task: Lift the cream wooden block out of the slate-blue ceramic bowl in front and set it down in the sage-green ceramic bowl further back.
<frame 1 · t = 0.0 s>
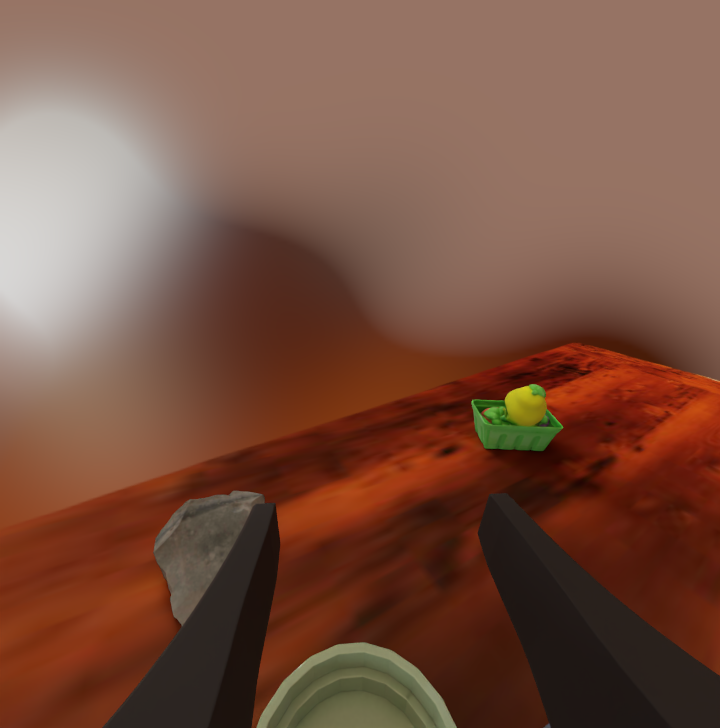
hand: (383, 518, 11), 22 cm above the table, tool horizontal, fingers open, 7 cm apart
fruit basket: (509, 443, 52), on the table
stone: (216, 567, 32), on the table
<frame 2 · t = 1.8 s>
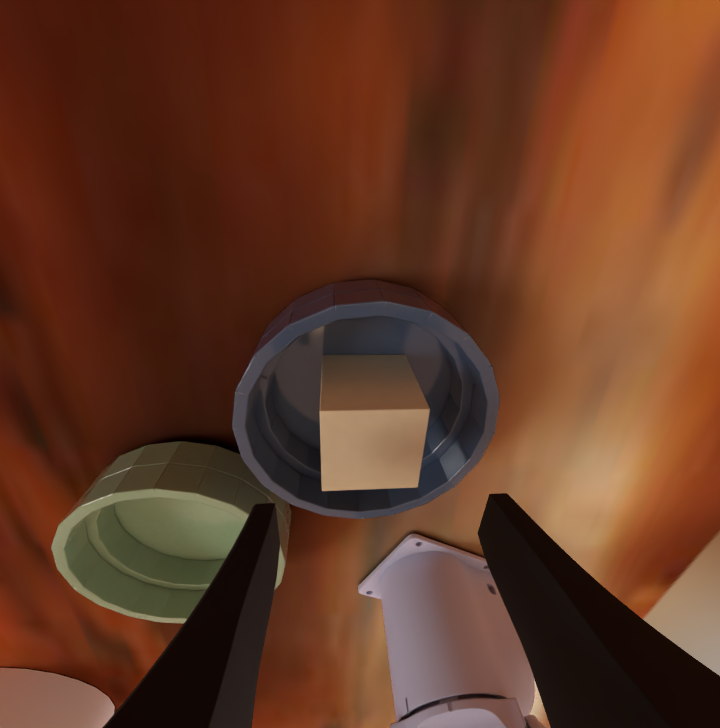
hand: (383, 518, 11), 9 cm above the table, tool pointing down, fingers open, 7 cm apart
slate bowl: (362, 385, 19), on the table
sage bowl: (199, 507, 22), on the table
block: (362, 390, 18), resting on slate bowl
cylinder: (21, 705, 34), on the table
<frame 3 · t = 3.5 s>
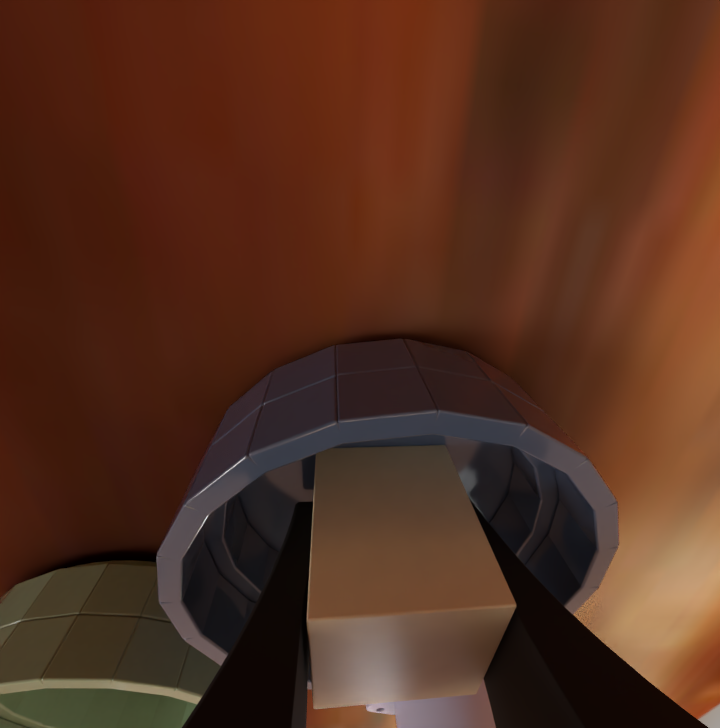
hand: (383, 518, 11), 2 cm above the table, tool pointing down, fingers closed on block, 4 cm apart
slate bowl: (377, 481, 13), on the table
sage bowl: (148, 629, 16), on the table
block: (378, 492, 12), point 1 cm above the table, touching gripper, slate bowl
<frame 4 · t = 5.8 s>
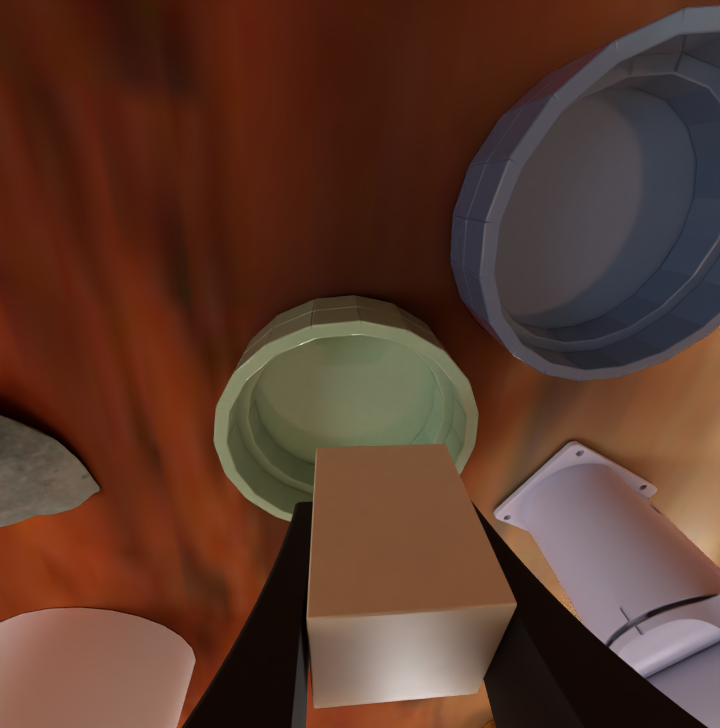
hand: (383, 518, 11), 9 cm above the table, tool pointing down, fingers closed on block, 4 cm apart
slate bowl: (575, 225, 16), on the table
decorative tree: (498, 722, 47), on the table
sage bowl: (346, 397, 19), on the table
stone: (3, 446, 19), on the table
block: (378, 491, 12), point 8 cm above the table, touching gripper
cylinder: (96, 657, 30), on the table
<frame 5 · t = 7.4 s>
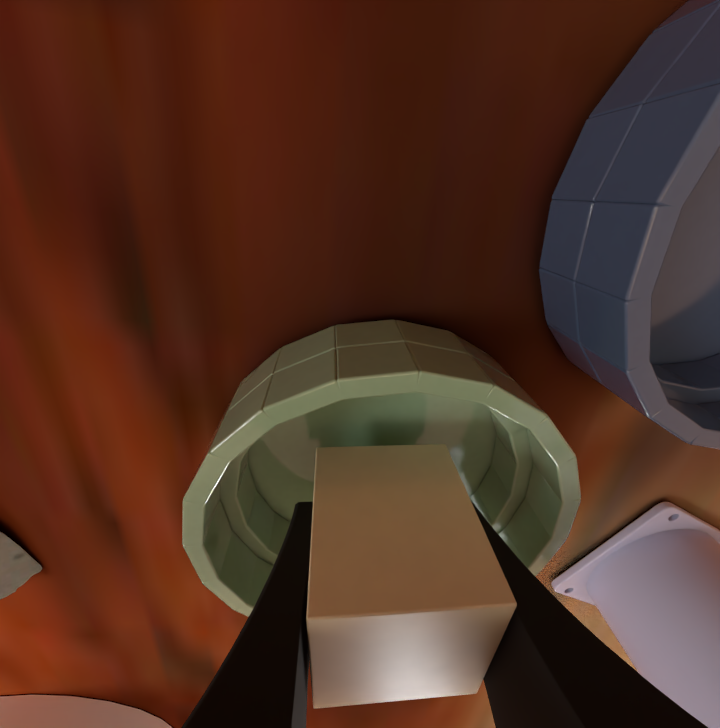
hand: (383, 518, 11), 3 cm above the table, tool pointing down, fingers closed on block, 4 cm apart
sage bowl: (373, 453, 14), on the table
block: (378, 491, 12), point 2 cm above the table, touching gripper
when the fingers open (2 cm above the table, at t = 8.3 s): block stays where it is, resting on sage bowl.
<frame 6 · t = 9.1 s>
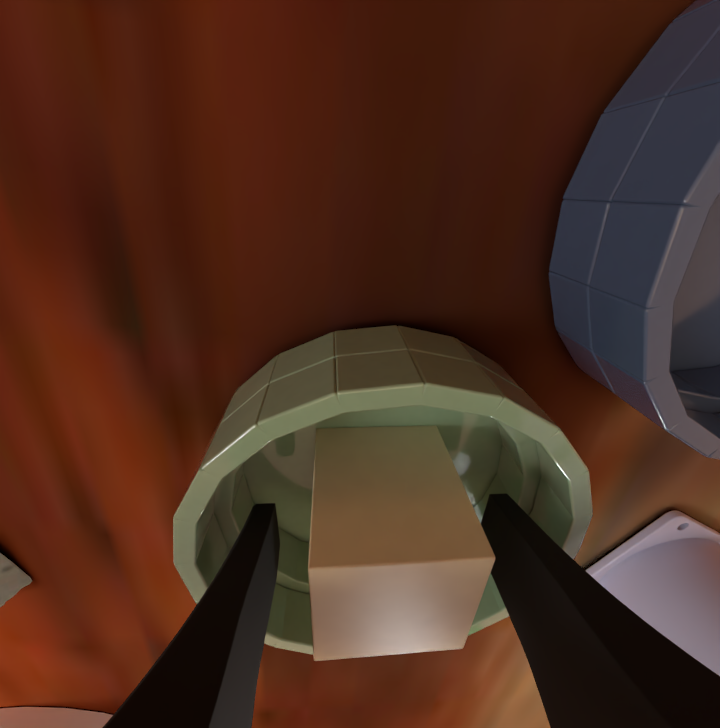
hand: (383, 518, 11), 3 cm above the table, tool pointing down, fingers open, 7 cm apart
sage bowl: (373, 462, 14), on the table
block: (374, 470, 13), point 1 cm above the table, touching sage bowl
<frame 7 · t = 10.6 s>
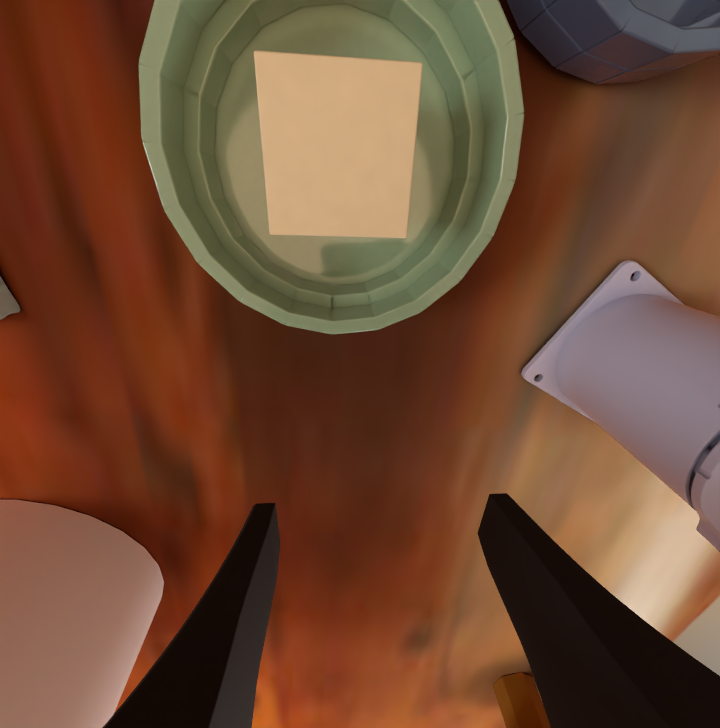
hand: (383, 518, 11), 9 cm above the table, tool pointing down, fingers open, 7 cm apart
decorative tree: (511, 679, 42), on the table
sage bowl: (337, 168, 14), on the table
block: (336, 166, 14), point 1 cm above the table, touching sage bowl
cylinder: (45, 574, 26), on the table
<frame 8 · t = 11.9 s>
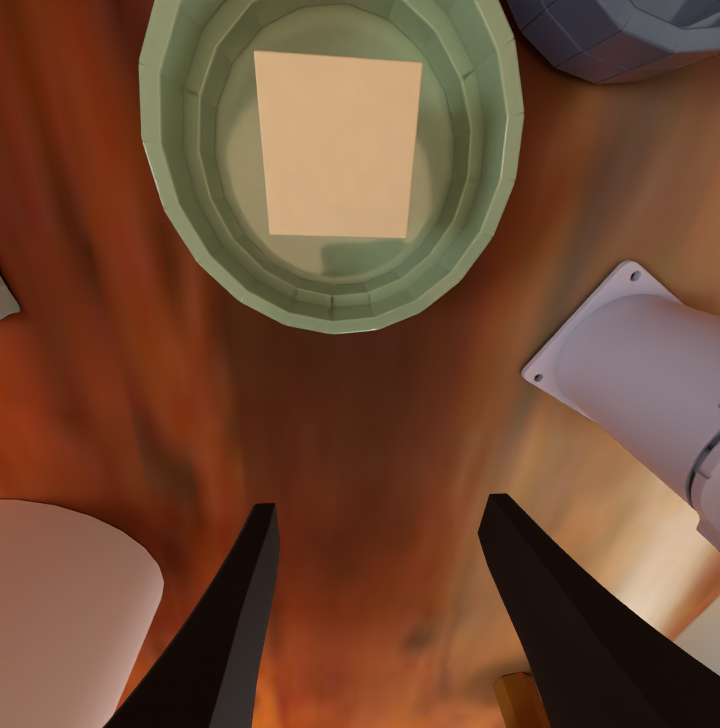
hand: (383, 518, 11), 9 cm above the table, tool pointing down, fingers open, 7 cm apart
decorative tree: (511, 679, 42), on the table
sage bowl: (337, 168, 14), on the table
block: (336, 166, 14), point 1 cm above the table, touching sage bowl
cylinder: (45, 574, 26), on the table
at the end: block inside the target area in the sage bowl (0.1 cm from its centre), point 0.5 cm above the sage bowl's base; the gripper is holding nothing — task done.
